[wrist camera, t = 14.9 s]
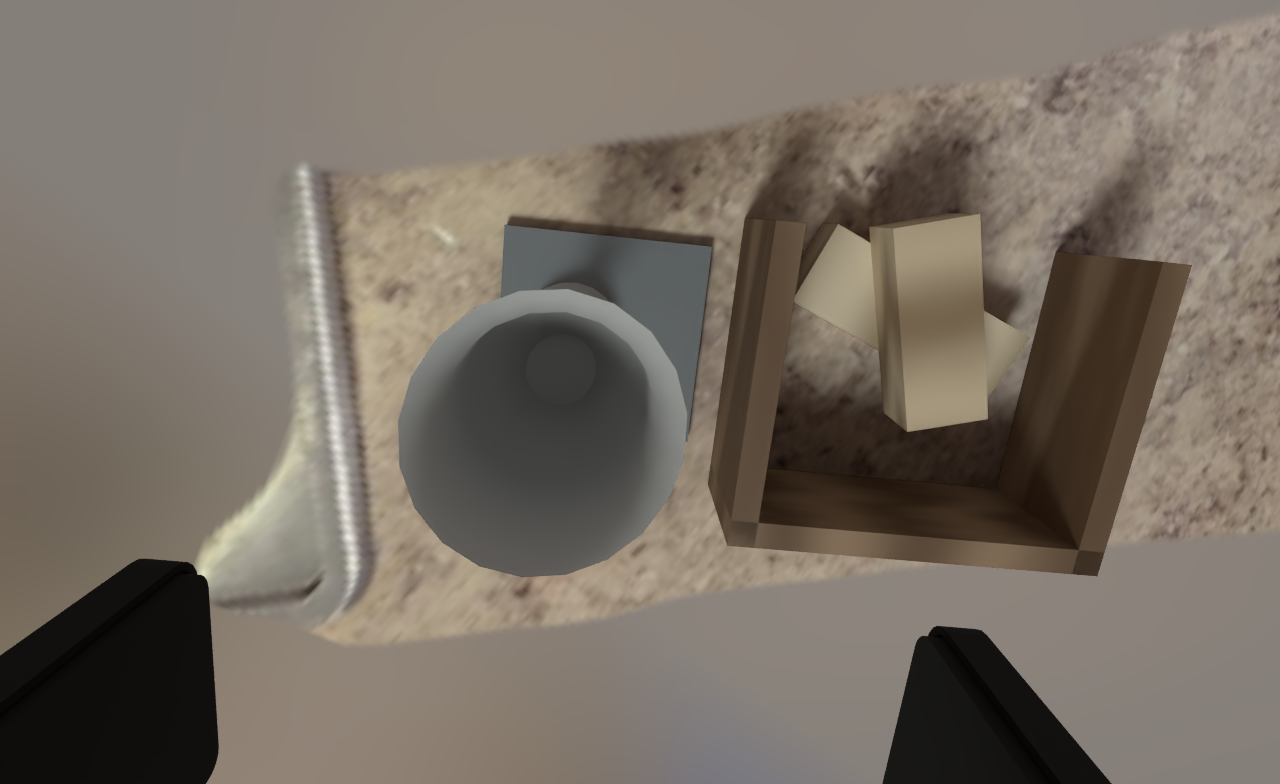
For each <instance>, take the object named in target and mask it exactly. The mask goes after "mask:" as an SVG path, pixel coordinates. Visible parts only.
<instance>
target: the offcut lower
mask: <svg viewBox="0 0 1280 784" xmlns="http://www.w3.org/2000/svg"><path fill="white" fill-rule="evenodd" d="M794 303H796V304H797V305H799V306H801V307H803V308H804V309H806V310H808V311H810V312H811V313H813V314H815V315H817V316H818V317H820V318H822V319H824V320H825V321H827V322H829V323H831V324H833V325H834V326H836V327H838V328H840V329H841V330H843V331H845V332H847V333H848V334H850V335H852V336H854V337H855V338H857V339H859V340H861V341H862V342H864V343H866V344H868V345H869V346H871V347H873V348H875V349H877V350H878V351H879V346H878V333H877V321H876V308H875V295H874V283H873V270H872V257H871V245H870V242H868V241H866V240H864V239H863V238H861V237H859V236H858V235H856V234H854V233H853V232H851V231H849V230H848V229H846V228H844V227H843V226H841V225H839V224H829V223H823V224H822V225H821V227H820V229H819V230H818V232H817V234H816V236H815V237H814V239H813V241H812V242H811V244H810V246H809V247H808V249H807V251H806V252H805V254H804V256H803V257H802V259H801V261H800V267H799V273H798V279H797V286H796V292H795V298H794ZM984 328H985V354H986V381H987V398H988V397H989V396H990V394H991V393H992V391H993V390H994V388H995V387H996V386H997V384H998V383H999V381H1000V380H1001V378H1002V377H1003V375H1004V374H1005V373H1006V371H1007V370H1008V368H1009V367H1010V365H1011V364H1012V362H1013V361H1014V360H1015V358H1016V357H1017V355H1018V354H1019V352H1020V351H1021V349H1022V348H1023V347H1024V345H1025V344H1026V342H1027V341H1028V339H1029V337H1028V336H1026V335H1024V334H1023V333H1021V332H1019V331H1018V330H1016V329H1014V328H1013V327H1011V326H1009V325H1008V324H1006V323H1004V322H1003V321H1001V320H999V319H998V318H996V317H994V316H992V315H991V314H989V313H987V312H986V311H984Z"/></svg>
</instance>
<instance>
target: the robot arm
mask: <svg viewBox="0 0 1280 784" xmlns="http://www.w3.org/2000/svg"><path fill="white" fill-rule="evenodd" d="M218 748H219V745H218V729H217V713H216V698H215V682H214V666H213V650H212V635H211V619H210V603H209V588H208V582H207V580H206V578H205V577H204V576H202V575H197V571H196V569H195V568H194V566H193V565H192V564H190V563H188V562H178V561H167V560H154V559H138V560H136V561H134V562H132V563H131V564H129V565H128V566H127V567H125V568H123V569H122V570H121V571H119V572H118V573H116V574H115V575H114V576H112V577H111V578H109V579H108V580H106V581H105V582H104V583H102V584H101V585H100V586H98V587H97V588H95V589H94V590H92V591H91V592H89V593H88V594H87V595H85V596H84V597H82V598H81V599H80V600H78V601H77V602H75V603H74V604H72V605H71V606H70V607H68V608H67V609H65V610H64V611H63V612H61V613H60V614H58V615H57V616H56V617H54V618H53V619H51V620H50V621H48V622H47V623H46V624H44V625H43V626H41V627H40V628H39V629H37V630H36V631H34V632H33V633H31V634H30V635H29V636H27V637H26V638H24V639H23V640H22V641H20V642H19V643H17V644H16V645H15V646H13V647H12V648H10V649H9V650H7V651H6V652H5V653H3V654H2V655H0V784H206V783H207V781H208V779H209V778H210V776H211V774H212V772H213V770H214V767H215V764H216V761H217V757H218ZM883 784H1111V783H1110V781H1109V780H1108V779H1107V778H1106V777H1105V776H1104V774H1103V773H1102V772H1101V771H1100V769H1099V768H1098V767H1097V766H1096V765H1095V764H1094V762H1093V761H1092V760H1091V759H1090V758H1089V756H1088V755H1087V754H1086V753H1085V752H1084V750H1083V749H1082V748H1081V747H1080V746H1079V744H1077V742H1076V741H1075V740H1074V739H1073V737H1072V736H1071V735H1070V734H1069V733H1068V731H1067V730H1066V729H1065V728H1064V727H1063V726H1062V724H1061V723H1060V722H1059V721H1058V720H1057V718H1056V717H1055V716H1054V715H1053V714H1052V712H1051V711H1050V710H1049V709H1048V708H1047V706H1046V705H1045V704H1044V703H1043V702H1042V700H1041V699H1040V698H1039V697H1038V696H1037V694H1036V693H1035V692H1034V691H1033V690H1032V688H1031V687H1030V686H1029V685H1028V684H1027V683H1026V681H1025V680H1024V679H1023V678H1022V677H1021V675H1020V674H1019V673H1018V672H1017V671H1016V669H1015V668H1014V667H1013V666H1012V665H1011V663H1010V662H1009V661H1008V660H1007V659H1006V658H1005V656H1004V655H1003V654H1002V653H1001V652H1000V650H999V649H998V648H997V647H996V646H995V644H994V643H993V642H992V641H991V640H990V638H989V637H988V636H987V635H986V634H985V633H984V632H982V631H981V630H977V629H967V628H956V627H955V628H954V627H943V626H936V627H934V628H933V629H932V630H931V631H930V633H929V635H928V636H922V637H920V638H919V639H918V640H917V642H916V645H915V649H914V653H913V657H912V662H911V666H910V670H909V675H908V678H907V683H906V687H905V691H904V696H903V700H902V704H901V708H900V712H899V716H898V721H897V725H896V729H895V734H894V738H893V742H892V746H891V750H890V754H889V759H888V763H887V767H886V771H885V775H884V780H883Z"/></svg>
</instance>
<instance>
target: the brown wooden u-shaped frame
mask: <svg viewBox="0 0 1280 784" xmlns="http://www.w3.org/2000/svg"><path fill="white" fill-rule="evenodd" d="M805 230H806V223H798V222H789V221H779V220H765V219H748V218H745V221H744V228H743V235H742V242H741V250H740V257H739V264H738V271H737V279H736V286H735V293H734V300H733V307H732V315H731V322H730V329H729V336H728V343H727V351H726V358H725V365H724V372H723V380H722V387H721V394H720V401H719V408H718V416H717V423H716V430H715V437H714V445H713V452H712V459H711V466H710V473H709V481H708V486H709V489H710V492H711V495H712V499H713V502H714V505H715V508H716V511H717V514H718V517H719V521H720V524H721V527H722V530H723V533H724V536H725V539H726V543H727V546H738V547H750V548H762V549H774V550H786V551H799V552H811V553H823V554H835V555H847V556H859V557H871V558H883V559H895V560H907V561H919V562H932V563H944V564H956V565H968V566H980V567H992V568H1005V569H1016V570H1028V571H1040V572H1041V571H1042V572H1053V573H1065V574H1077V575H1090V576H1097V575H1098V572H1099V569H1100V565H1101V562H1102V559H1103V555H1104V552H1105V549H1106V546H1107V542H1108V539H1109V536H1110V532H1111V529H1112V526H1113V523H1114V519H1115V516H1116V513H1117V509H1118V506H1119V503H1120V500H1121V496H1122V493H1123V490H1124V486H1125V483H1126V480H1127V477H1128V473H1129V470H1130V467H1131V463H1132V460H1133V457H1134V454H1135V450H1136V447H1137V444H1138V440H1139V437H1140V434H1141V431H1142V427H1143V424H1144V421H1145V417H1146V414H1147V411H1148V408H1149V404H1150V401H1151V398H1152V394H1153V391H1154V388H1155V385H1156V381H1157V378H1158V375H1159V371H1160V368H1161V365H1162V362H1163V358H1164V355H1165V352H1166V348H1167V345H1168V342H1169V338H1170V335H1171V332H1172V329H1173V325H1174V322H1175V319H1176V315H1177V312H1178V309H1179V306H1180V302H1181V299H1182V296H1183V292H1184V289H1185V286H1186V283H1187V279H1188V276H1189V273H1190V269H1191V266H1192V265H1186V264H1177V263H1168V262H1158V261H1147V260H1136V259H1126V258H1115V257H1104V256H1094V255H1083V254H1072V253H1062V252H1056V255H1055V259H1054V263H1053V266H1052V270H1051V274H1050V278H1049V282H1048V286H1047V290H1046V294H1045V298H1044V302H1043V306H1042V310H1041V314H1040V318H1039V322H1038V326H1037V330H1036V334H1035V337H1034V341H1033V345H1032V349H1031V353H1030V357H1029V361H1028V365H1027V369H1026V373H1025V377H1024V381H1023V385H1022V389H1021V393H1020V397H1019V401H1018V405H1017V409H1016V412H1015V416H1014V420H1013V424H1012V428H1011V432H1010V436H1009V440H1008V444H1007V448H1006V452H1005V456H1004V460H1003V464H1002V468H1001V472H1000V476H999V480H998V483H997V487H996V489H992V488H980V487H969V486H958V485H947V484H935V483H924V482H913V481H902V480H890V479H879V478H868V477H857V476H846V475H834V474H823V473H812V472H801V471H789V470H778V469H767V466H768V459H769V453H770V447H771V441H772V435H773V428H774V422H775V416H776V410H777V404H778V397H779V391H780V385H781V379H782V372H783V366H784V360H785V354H786V348H787V341H788V335H789V329H790V323H791V317H792V310H793V304H794V298H795V292H796V286H797V279H798V273H799V267H800V261H801V254H802V248H803V242H804V236H805Z"/></svg>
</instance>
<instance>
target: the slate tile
mask: <svg viewBox="0 0 1280 784" xmlns="http://www.w3.org/2000/svg"><path fill="white" fill-rule="evenodd" d="M711 251H712V247H711V246H703V245H694V244H684V243H675V242H665V241H656V240H646V239H637V238H627V237H618V236H608V235H599V234H589V233H580V232H571V231H561V230H552V229H542V228H533V227H523V226H514V225H505V228H504V248H503V267H502V286H501V298H502V297H505V296H508V295H510V294H513V293H515V292H518V291H530V290H543V289H544V288H546V287H549V286H552V285H555V284H558V283H580V284H583V285H586V286H589V287H592V288H594V289H595V290H597V291H598V292H599V293H601V294H602V295H603V296H605V297H606V298H607V300H608V301H609V302H611V303H614V304H615V305H617V306H618V307H619V308H621V309H622V310H623V311H625V312H626V313H627V314H629V315H630V316H631V317H632V318H634V319H635V320H636V321H638V322H639V323H640V324H642V325H643V326H644V327H646V328H647V329H648V330H650V331H651V332H652V334H653V335H654V337H655V338H656V340H657V341H658V343H659V344H660V346H661V347H662V349H663V350H664V352H665V354H666V355H667V357H668V358H669V360H670V361H671V363H672V364H673V366H674V367H675V369H676V371H677V375H678V379H679V383H680V387H681V391H682V395H683V399H684V403H685V407H686V411H687V426H686V440H685V442H687V439H688V431H689V423H690V415H691V407H692V400H693V392H694V384H695V376H696V368H697V361H698V353H699V345H700V337H701V329H702V322H703V314H704V306H705V298H706V290H707V283H708V275H709V267H710V259H711Z"/></svg>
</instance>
